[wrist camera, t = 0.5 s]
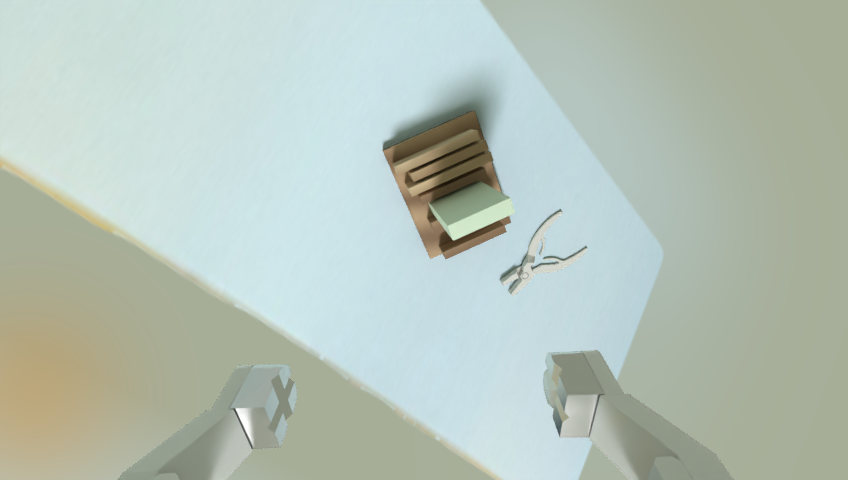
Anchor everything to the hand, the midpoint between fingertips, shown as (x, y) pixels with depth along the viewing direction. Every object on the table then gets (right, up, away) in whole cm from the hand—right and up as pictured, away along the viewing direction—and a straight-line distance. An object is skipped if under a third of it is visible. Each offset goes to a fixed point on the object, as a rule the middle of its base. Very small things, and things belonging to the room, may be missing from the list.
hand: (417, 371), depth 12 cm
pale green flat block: (+5, +11, +43) cm, 45 cm away
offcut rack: (+4, +12, +44) cm, 46 cm away
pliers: (+20, +1, +51) cm, 55 cm away
